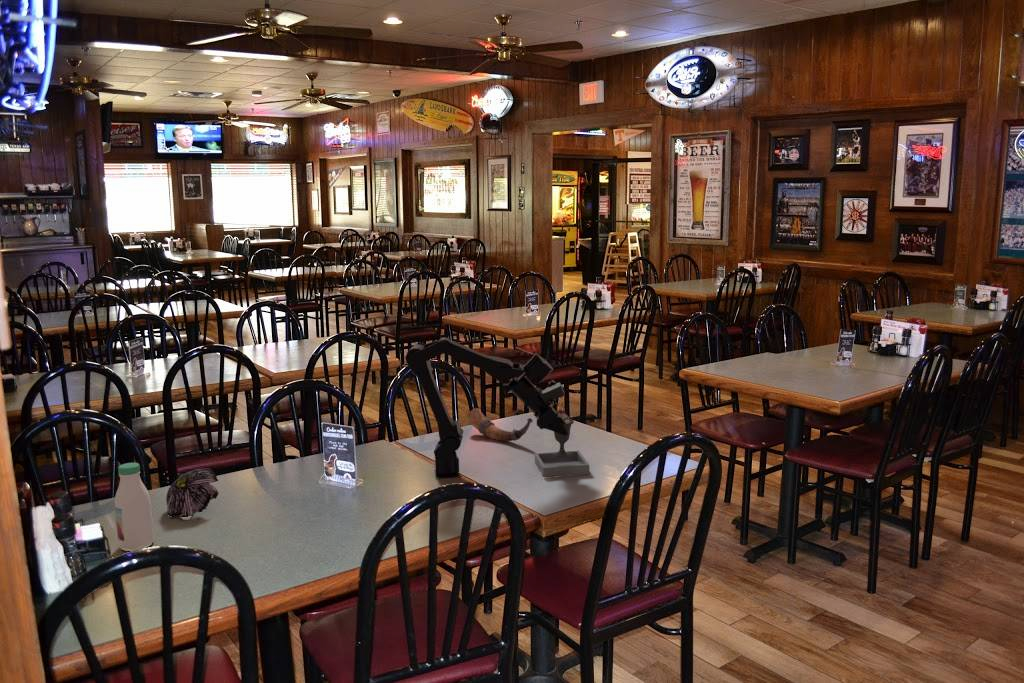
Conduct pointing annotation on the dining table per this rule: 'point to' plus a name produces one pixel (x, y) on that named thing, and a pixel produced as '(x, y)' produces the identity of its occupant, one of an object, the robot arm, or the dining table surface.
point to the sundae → (562, 438)
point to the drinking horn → (494, 427)
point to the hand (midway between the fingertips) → (566, 431)
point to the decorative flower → (191, 492)
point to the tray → (561, 464)
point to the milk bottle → (133, 509)
